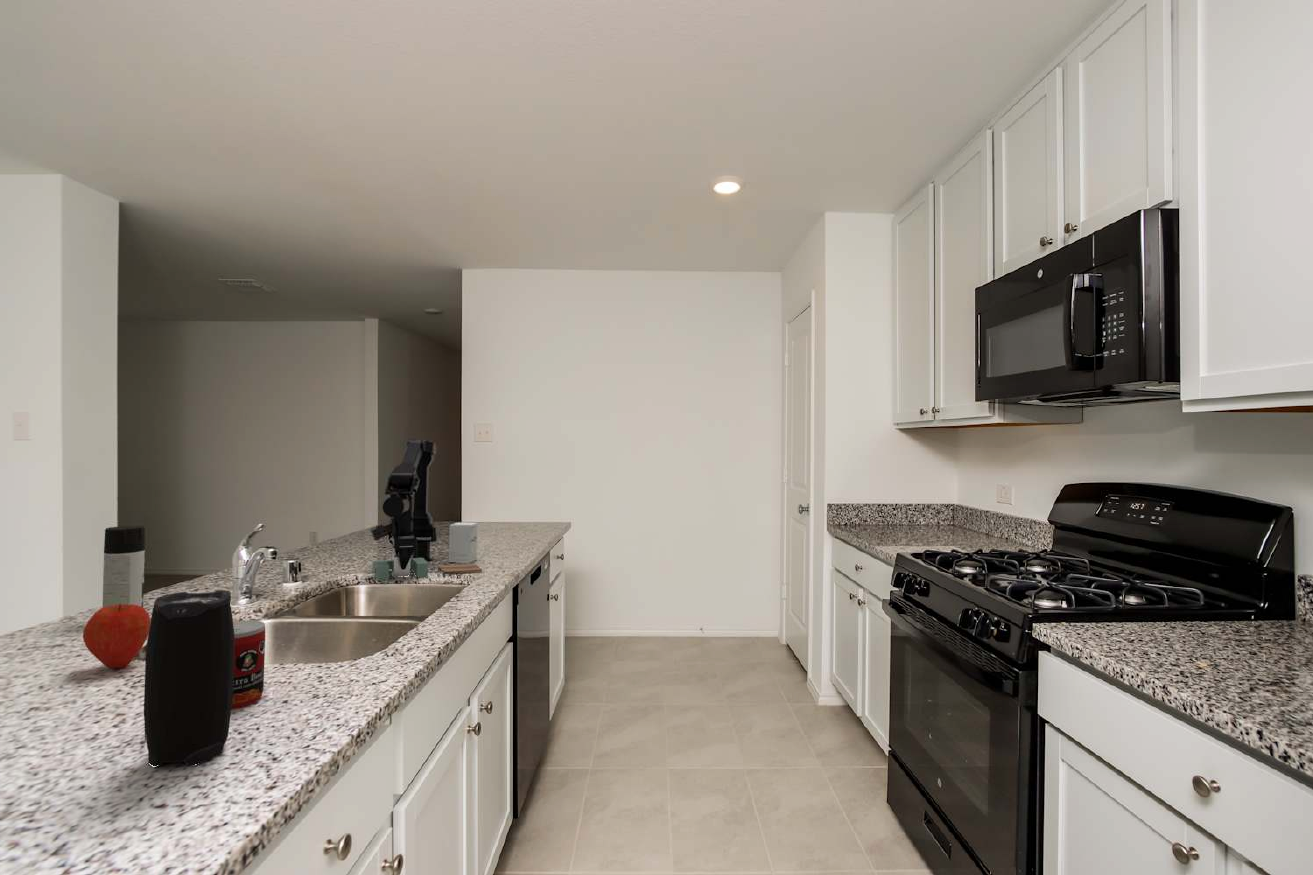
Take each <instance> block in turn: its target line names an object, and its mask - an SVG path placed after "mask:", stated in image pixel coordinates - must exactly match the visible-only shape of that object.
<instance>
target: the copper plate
mask: <svg viewBox="0 0 1313 875" xmlns="http://www.w3.org/2000/svg"><path fill="white" fill-rule="evenodd" d="M439 569H440V570H441V571H442V572H443V573H444V574H443V573H442V572H441V571H440V570H439ZM437 570H439V571H440V572H441V573H442V574H443V575H444V576H446V575H445V574H455V575H464V574H465V575H467V574H466V573H468V574H478V573H477V572H481V573H483V568H481V567H480V566H479V565H477V564H476V563H474V562H471V563H451V564H442V565H441V564H440V565H439V564H438V565H437Z"/></svg>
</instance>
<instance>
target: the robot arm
mask: <svg viewBox="0 0 1313 875" xmlns="http://www.w3.org/2000/svg"><path fill="white" fill-rule="evenodd" d="M435 455H437V445H436V443H435V442H433V441H432V440H426V439H423V438H409V439H407V442H406V449H405V452H404V455H403V457H402V460H401V463H400V464H399V465H397V466H395V467H394V468H393V469H392V471H391V473H390V474H389V476H388V478H387V484H386V487H385V490H384V491H385V492H384V495H385V496H388V495H390V497H388V498H387V499H385V500H384V502H383V504H382V511H383V513H384V514H385V515H386V516H388V517H390V518H389V521H388V522H385V523H380V524H379V525H375V526H373V527H371V528H369V530H370V533H371V535H372V538H373V540H374V541H379V540H380V539H382V538H384V537H386V536H387V537H386V538H387V541H388V542H389V543H390V544H391V545H392V548H393V549H394V555H396V554H399V560H400V566H401V569H402V570H404V569H406V567H407V564H408V562H409V560H410V558H411V559H412V558H424V559H425V560H426V562H428V561H433V557H431V543H434V542H437V540H438V539H437V538H438V535H437V528H436V527H435V524H434V521H433V520H434V519H433V516H432V514H431V513H430V511H429V491H430V490H429V487H430V486H429V485H430V484H429V483H430V481H429V480H430V467H431V466H432V463H433V462H434V461H435Z"/></svg>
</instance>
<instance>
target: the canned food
mask: <svg viewBox="0 0 1313 875" xmlns="http://www.w3.org/2000/svg"><path fill="white" fill-rule="evenodd" d="M233 626H234V634H235V646H234V690H233V701H232V705H233V708H232V709H231V711H233V710H236V709H241V708H245V707H247V706H250V705H252V704H255V703H257V702H258V701H259V700H260V699H261V698H262V695H263V692H264V685H265V658H266V657H265V656H266V623H265V622H263V621H261V620H255V619H244V620H233Z"/></svg>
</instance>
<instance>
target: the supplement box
mask: <svg viewBox="0 0 1313 875" xmlns="http://www.w3.org/2000/svg"><path fill="white" fill-rule="evenodd" d="M448 532H449V534H448V535H449V537H448V538H449V539H448V540H449V541H448V562H461V563H460V564H466V563H470V562H471V563H473V562H474V561H476V560H477V555H478V554H477V553H478V552H477V550H478V547H477V546H478V522H455V523H452V524H449V531H448Z"/></svg>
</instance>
